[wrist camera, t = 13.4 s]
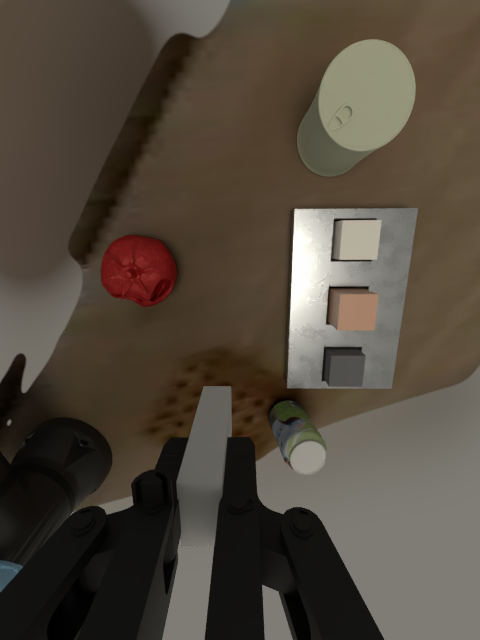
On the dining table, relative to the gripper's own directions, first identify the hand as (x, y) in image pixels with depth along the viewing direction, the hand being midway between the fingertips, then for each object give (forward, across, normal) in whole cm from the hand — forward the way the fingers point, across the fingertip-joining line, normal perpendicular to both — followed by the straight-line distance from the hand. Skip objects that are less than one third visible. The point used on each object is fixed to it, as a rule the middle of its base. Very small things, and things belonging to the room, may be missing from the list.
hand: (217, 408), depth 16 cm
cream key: (+29, +16, +9) cm, 34 cm away
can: (+30, +13, +22) cm, 39 cm away
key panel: (+29, +16, 0) cm, 33 cm away
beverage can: (+30, +9, -19) cm, 36 cm away
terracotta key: (+27, +16, 0) cm, 32 cm away
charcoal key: (+29, +16, -9) cm, 34 cm away
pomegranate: (+30, -13, +5) cm, 33 cm away
